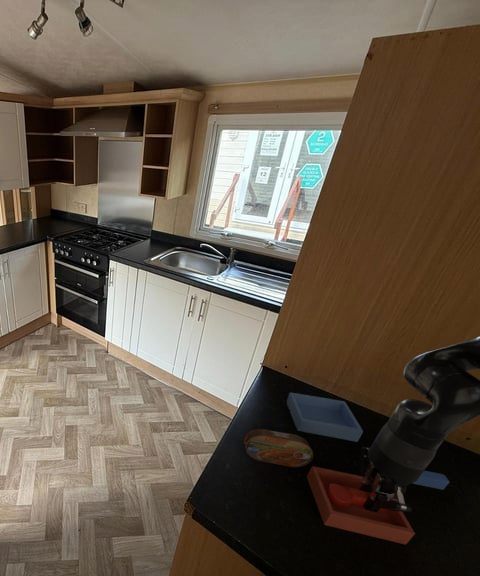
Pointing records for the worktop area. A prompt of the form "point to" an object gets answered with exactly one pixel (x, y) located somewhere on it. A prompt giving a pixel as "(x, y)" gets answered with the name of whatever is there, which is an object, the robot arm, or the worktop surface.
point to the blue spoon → (432, 480)
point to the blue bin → (323, 417)
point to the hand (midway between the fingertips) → (366, 502)
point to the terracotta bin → (356, 509)
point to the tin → (278, 448)
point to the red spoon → (348, 496)
